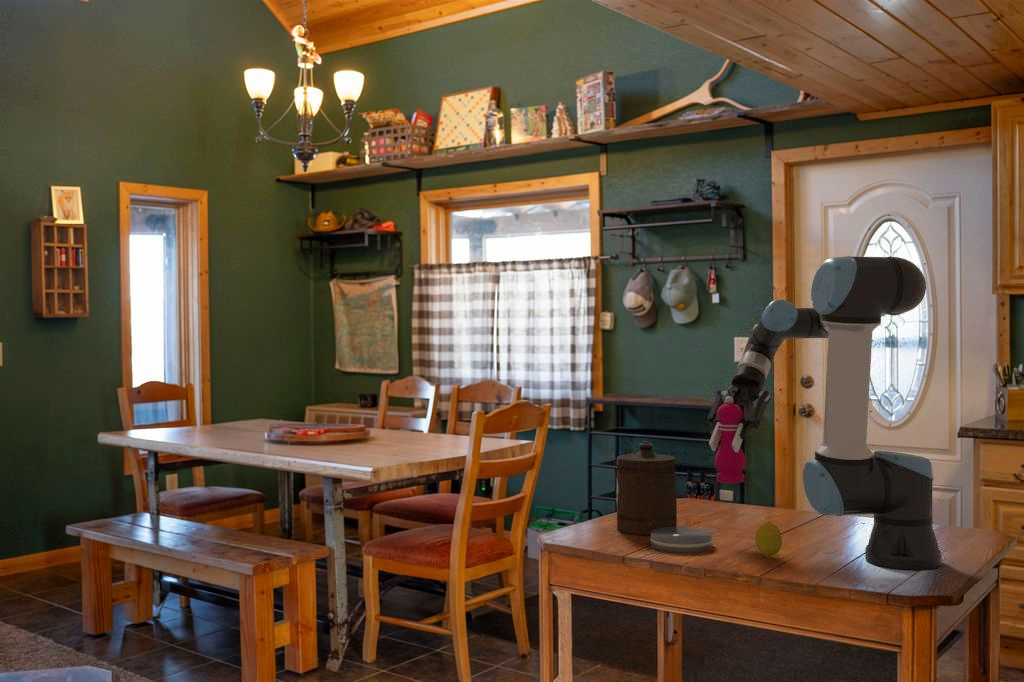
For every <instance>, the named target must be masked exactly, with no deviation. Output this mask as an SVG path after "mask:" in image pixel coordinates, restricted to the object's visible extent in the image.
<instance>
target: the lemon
mask: <svg viewBox="0 0 1024 682" xmlns="http://www.w3.org/2000/svg"><path fill="white" fill-rule="evenodd" d="M780 530H781V529H780V528H779V527H778V526H776V525H775V524H773V522H772V523H771V521H766V523H762V524H761V525H760V526H758V528H757V530H756V534H755V546H756V549H757V550H758V551H759V553H761V554H762V555H764V556H765V558H767V559H771V558H772V557H773V556H774V555H777V554H778V553H779V552H780V550H781V548H782V543H783V541H782V539H783V538H782V537H783V536H782V533H781V531H780Z"/></svg>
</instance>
